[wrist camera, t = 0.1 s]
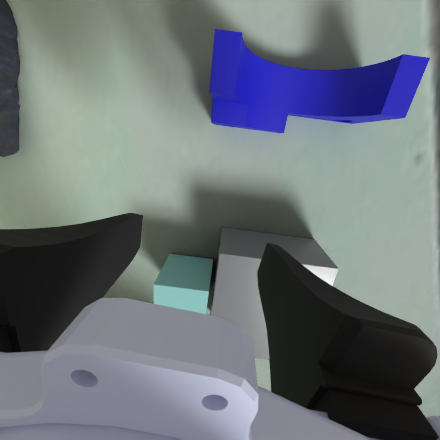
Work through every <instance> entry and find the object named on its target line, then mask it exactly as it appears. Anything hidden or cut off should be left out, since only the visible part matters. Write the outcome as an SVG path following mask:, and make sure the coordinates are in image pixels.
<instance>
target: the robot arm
mask: <svg viewBox="0 0 440 440" xmlns="http://www.w3.org/2000/svg"><path fill="white" fill-rule="evenodd" d="M142 218H143V215H139V214H134V213H127V214H122V215H118V216H114V217H109V218H105V219H101V220H96V221H91V222H87V223H82V224H76V225H69V226H61V227H51V228H37V229H0V440H440V416H431V417H427V418H426V417H425V416H424V415H423V413H422V412H421V410H420V409H419V407H418V406H417V405H421V404H422V399H421V398H420V397H419V395H418V394H417V393H416V391H415V390H414V388H415V387H416V386H417V385H418V384H419V383H420V382H421V381H422V380H423V379H424V377H425V376H426V375H427V374H428V373H429V372H430V371H431V369H432V368H433V367H434V365H435V363H436V359H437V348H436V346H435V345H434V343H433V342H432V341H431V340H430V339H429V338H428V337H427V336H426V335H425V334H424V333H423V332H422V331H421V330H420V329H419V328H418V327H417V326H416V325H414V324H411V323H409V322H406V321H404V320H401V319H399V318H396V317H394V316H391V315H389V314H386V313H384V312H382V311H379V310H377V309H375V308H373V307H371V306H369V305H366V304H364V303H362V302H360V301H358V300H356V299H354V298H352V297H351V296H349V295H347V294H345V293H343V292H341V291H340V290H338V289H336V288H335V287H333V286H331V285H330V284H328V283H327V282H325V281H324V280H322V279H321V278H319V277H318V276H316V275H315V274H314V273H312V272H311V271H310V270H308V269H307V268H306V267H305V266H303V265H302V264H301V263H300V262H298V261H297V260H296V259H295V258H294V257H293V256H291V255H290V254H289V253H288V252H287V251H285V250H284V249H283V248H282V247H280V246H279V245H276V244H271V243H267V245H266V248H265V250H264V253H263V256H262V259H261V262H260V265H259V268H258V271H257V280H258V289H259V294H260V299H261V304H262V308H263V313H264V318H265V323H266V329H267V338H268V348H269V360H270V374H271V392H270V391H268V390H266V389H264V388H262V387H259V386H258V385H257V377H256V368H255V359H254V350H253V341H252V339H251V338H250V337H249V335H248V334H247V333H246V331H245V330H244V329H243V328H242V326H240V325H238V324H235V323H233V322H231V321H228V320H226V319H224V318H221V317H217V316H212V315H207V314H202V313H197V312H192V311H187V310H183V309H178V308H173V307H168V306H163V305H158V304H153V303H148V302H143V301H138V300H133V299H128V298H103V296H104V295H105V294H106V292H107V291H108V290H109V288H110V287H111V286H112V285H113V284H114V282H115V281H116V280H117V279H118V277H119V276H120V275H121V274H122V273H123V271H124V270H125V269H126V268H127V266H128V265H129V264H130V263H131V261H132V260H133V258H134V257H135V255H136V253H137V252H138V250H139V248H140V242H141V230H142Z"/></svg>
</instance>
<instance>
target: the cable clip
mask: <svg viewBox="0 0 440 440" xmlns="http://www.w3.org/2000/svg"><path fill="white" fill-rule="evenodd" d="M429 59H430V58H426V57H419V56H411V55H404V54H403V55H401V56H398V57H396V58H393V59H391V60H388V61H385V62H381V63H378V64H374V65H369V66H364V67H359V68H352V69H342V70H306V69H297V68H291V67H286V66H282V65H278V64H274V63H271V62H269V61H266V60H264V59H262V58H260V57H258V56H256V55H255V54H253V53H252V52H251V51H250V50H249V49H248V48H247V47H246V45H245V44H244V42H243V39H242V33H241V32H233V31H226V30H218V29H215V36H214V47H213V59H212V70H211V81H210V94H211V96H212V98H213V108H212V118H211V122H212V123H213V124H215V125H223V126H230V127H238V128H246V129H253V130H261V131H268V132H276V133H284V129H285V125H286V120H287V116H288V115H291V116H299V117H306V118H314V119H321V120H329V121H336V122H344V123H351V124H354V123H363V122H372V121H381V120H390V119H399V118H405V117H406V114H407V112H408V110H409V107H410V105H411V102H412V100H413V97H414V95H415V93H416V90H417V88H418V85H419V83H420V81H421V78H422V76H423V73H424V71H425V69H426V66H427V64H428V61H429Z"/></svg>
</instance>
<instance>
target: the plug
mask: <svg viewBox="0 0 440 440" xmlns="http://www.w3.org/2000/svg"><path fill="white" fill-rule="evenodd" d="M212 265H213V259H208V258H200V257H192V256H184V255H177V254H169V256H168V258H167V260H166V262H165V264H164V265H163V267H162V269H161V271H160V273H159V275H158V277H157V279H156V281H155V283H154V304H158V305H163V306H168V307H173V308H178V309H183V310H187V311H192V312H197V313H202V314H206V311H207V303H208V296H209V288H210V281H211V273H212Z"/></svg>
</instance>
